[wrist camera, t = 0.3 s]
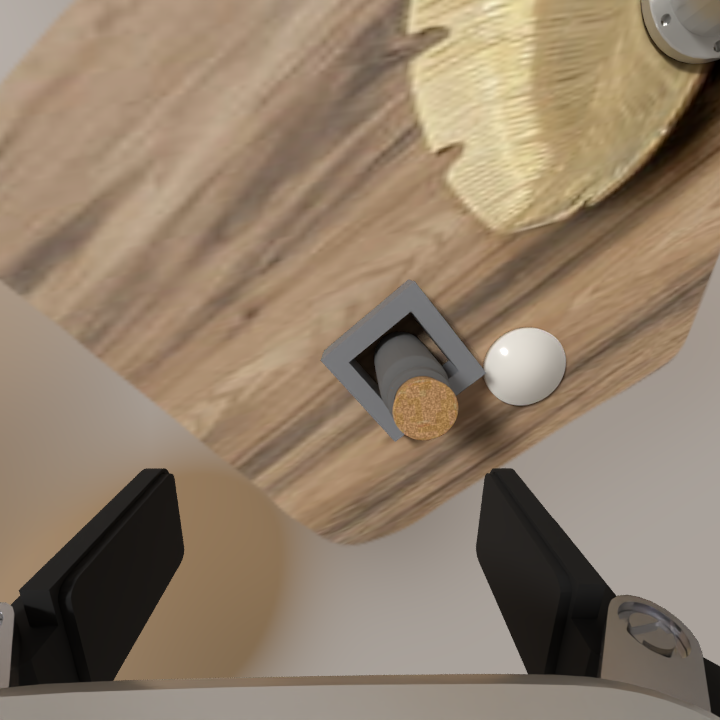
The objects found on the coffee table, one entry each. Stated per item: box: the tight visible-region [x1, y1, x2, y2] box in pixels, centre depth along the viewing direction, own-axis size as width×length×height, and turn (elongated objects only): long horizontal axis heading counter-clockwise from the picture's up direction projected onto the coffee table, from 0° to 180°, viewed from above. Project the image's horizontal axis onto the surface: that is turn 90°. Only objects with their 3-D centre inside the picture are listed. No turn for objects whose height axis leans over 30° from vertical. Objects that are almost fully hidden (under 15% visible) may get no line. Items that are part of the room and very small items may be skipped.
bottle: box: [374, 332, 458, 440], centre depth 32 cm, size 6×6×15 cm
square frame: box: [321, 280, 486, 441], centre depth 37 cm, size 12×12×4 cm
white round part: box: [483, 327, 566, 405], centre depth 39 cm, size 9×9×1 cm
